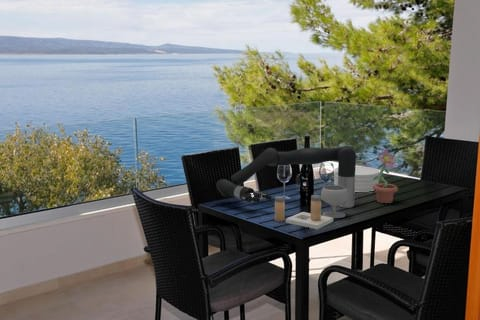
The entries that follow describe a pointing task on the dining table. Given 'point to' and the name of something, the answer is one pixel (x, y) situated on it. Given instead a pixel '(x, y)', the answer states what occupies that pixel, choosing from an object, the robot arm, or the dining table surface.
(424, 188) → the dining table surface
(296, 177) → the pneumatic valve
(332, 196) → the chalice
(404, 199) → the dining table surface
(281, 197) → the grey-capped tan peg
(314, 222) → the white board with post
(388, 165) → the decorative flower
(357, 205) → the dining table surface
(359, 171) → the plate stack
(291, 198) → the dining table surface
